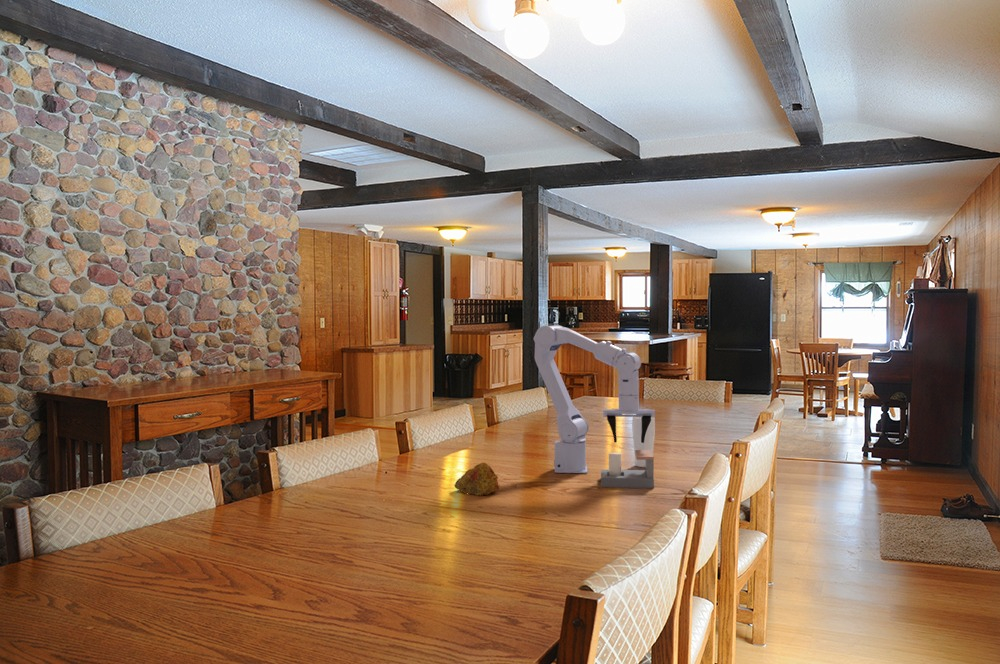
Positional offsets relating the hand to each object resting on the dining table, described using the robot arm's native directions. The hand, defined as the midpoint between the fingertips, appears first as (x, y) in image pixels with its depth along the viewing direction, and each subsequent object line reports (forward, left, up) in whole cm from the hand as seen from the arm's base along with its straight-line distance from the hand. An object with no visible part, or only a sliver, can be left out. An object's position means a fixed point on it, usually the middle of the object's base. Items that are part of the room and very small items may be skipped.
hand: (628, 442), depth 208 cm
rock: (-40, -21, -10) cm, 46 cm away
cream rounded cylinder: (+5, +14, -10) cm, 18 cm away
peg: (-4, -8, -10) cm, 13 cm away
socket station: (-1, -8, -10) cm, 13 cm away
